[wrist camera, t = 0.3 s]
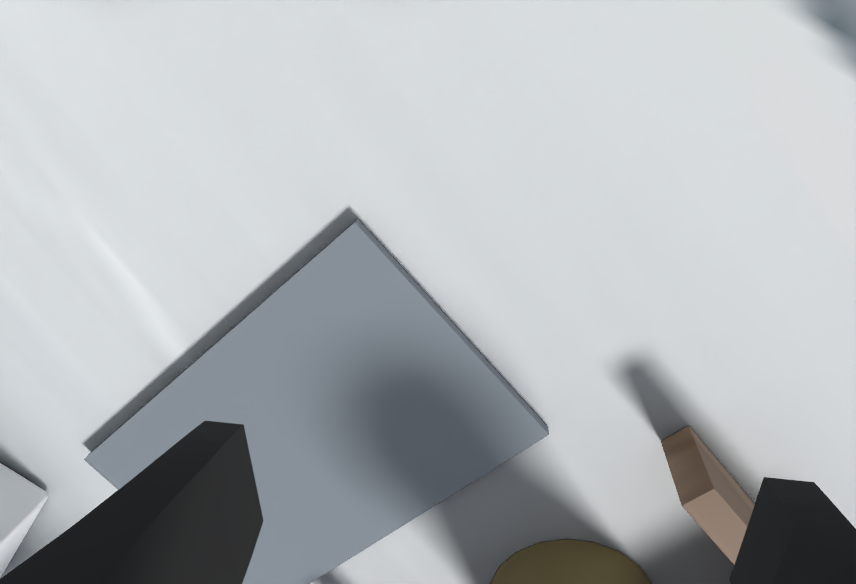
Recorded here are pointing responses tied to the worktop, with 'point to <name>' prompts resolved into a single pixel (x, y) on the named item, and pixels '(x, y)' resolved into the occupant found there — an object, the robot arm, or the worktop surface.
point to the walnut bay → (708, 491)
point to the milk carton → (16, 511)
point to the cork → (569, 565)
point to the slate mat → (338, 410)
